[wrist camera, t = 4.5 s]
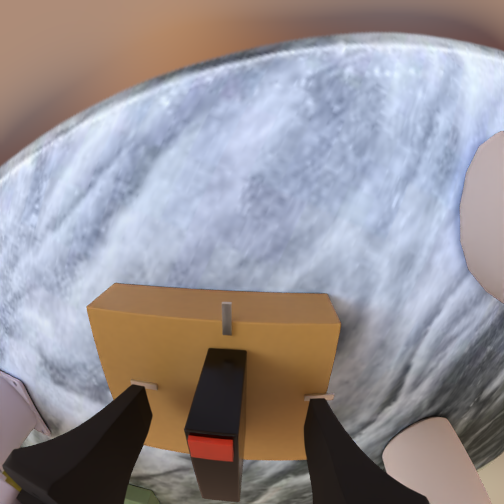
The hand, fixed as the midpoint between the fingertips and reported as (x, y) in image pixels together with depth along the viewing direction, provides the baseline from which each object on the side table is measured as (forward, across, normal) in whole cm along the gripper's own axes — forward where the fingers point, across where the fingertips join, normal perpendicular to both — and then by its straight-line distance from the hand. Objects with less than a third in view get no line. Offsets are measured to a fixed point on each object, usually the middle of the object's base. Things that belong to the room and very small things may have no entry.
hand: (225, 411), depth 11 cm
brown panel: (+4, +1, +1) cm, 4 cm away
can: (+4, -15, +10) cm, 19 cm away
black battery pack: (+1, 0, 0) cm, 1 cm away
